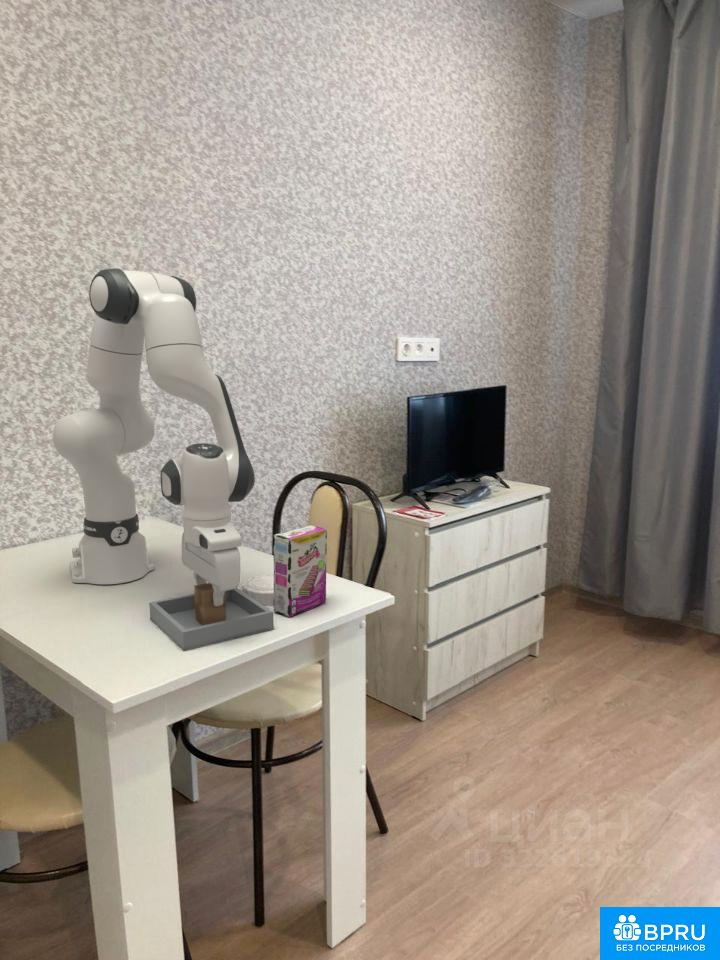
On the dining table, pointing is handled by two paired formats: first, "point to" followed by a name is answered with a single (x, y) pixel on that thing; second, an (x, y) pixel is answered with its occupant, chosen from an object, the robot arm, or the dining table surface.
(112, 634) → the dining table surface
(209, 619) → the walnut block
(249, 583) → the mooncake
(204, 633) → the tray
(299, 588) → the candy bar box
